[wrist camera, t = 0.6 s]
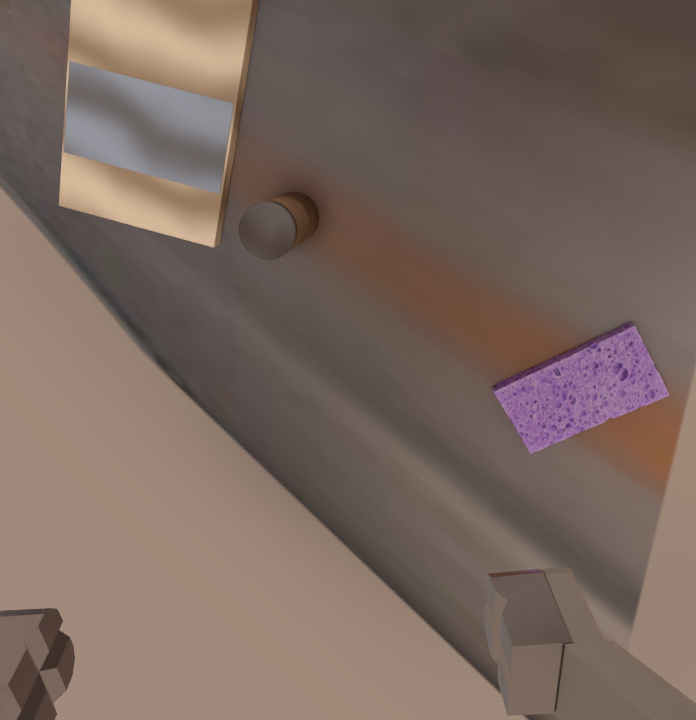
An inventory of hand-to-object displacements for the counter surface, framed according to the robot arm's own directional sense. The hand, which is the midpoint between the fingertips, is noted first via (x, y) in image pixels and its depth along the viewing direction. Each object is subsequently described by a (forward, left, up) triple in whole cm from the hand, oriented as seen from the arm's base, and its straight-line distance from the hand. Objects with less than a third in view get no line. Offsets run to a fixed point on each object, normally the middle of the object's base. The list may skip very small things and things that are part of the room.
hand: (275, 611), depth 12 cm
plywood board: (-8, -23, -42) cm, 48 cm away
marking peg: (0, -10, -42) cm, 43 cm away
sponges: (+8, +17, -43) cm, 47 cm away
